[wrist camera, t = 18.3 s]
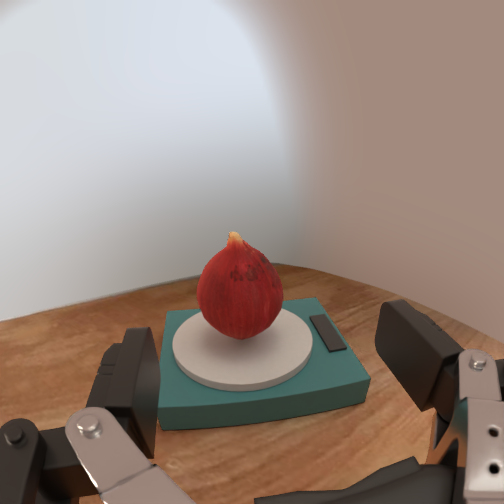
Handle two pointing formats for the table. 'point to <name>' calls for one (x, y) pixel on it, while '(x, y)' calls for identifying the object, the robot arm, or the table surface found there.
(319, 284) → the table surface
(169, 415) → the scale
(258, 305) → the onion
